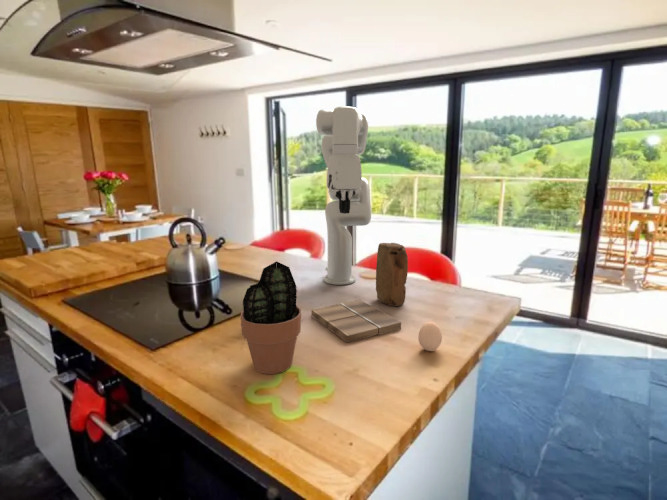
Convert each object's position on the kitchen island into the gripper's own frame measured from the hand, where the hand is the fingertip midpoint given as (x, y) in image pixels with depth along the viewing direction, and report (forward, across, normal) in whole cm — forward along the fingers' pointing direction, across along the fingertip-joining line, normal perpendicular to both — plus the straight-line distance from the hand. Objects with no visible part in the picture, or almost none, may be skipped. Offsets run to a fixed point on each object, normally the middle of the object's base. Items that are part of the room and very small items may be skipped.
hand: (344, 212), depth 119 cm
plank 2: (+31, +7, +16) cm, 36 cm away
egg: (+31, -4, +35) cm, 47 cm away
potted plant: (+31, +33, +22) cm, 51 cm away
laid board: (+31, -2, +11) cm, 33 cm away
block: (+31, -17, +3) cm, 36 cm away
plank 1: (+31, +7, +6) cm, 32 cm away
